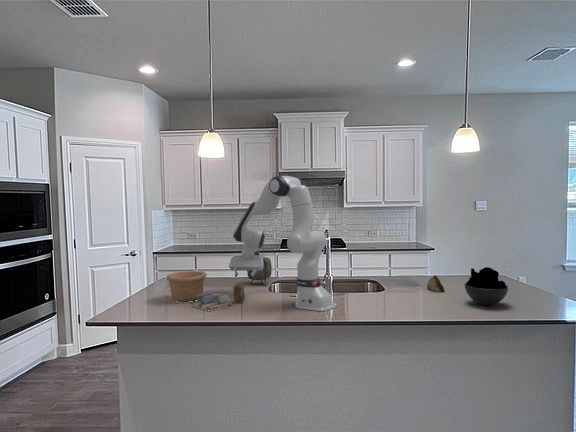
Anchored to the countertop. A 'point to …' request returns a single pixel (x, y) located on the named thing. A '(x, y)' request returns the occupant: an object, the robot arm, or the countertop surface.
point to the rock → (435, 284)
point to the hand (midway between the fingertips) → (243, 275)
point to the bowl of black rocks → (486, 287)
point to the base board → (211, 306)
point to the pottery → (186, 285)
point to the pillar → (238, 293)
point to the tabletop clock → (264, 273)
